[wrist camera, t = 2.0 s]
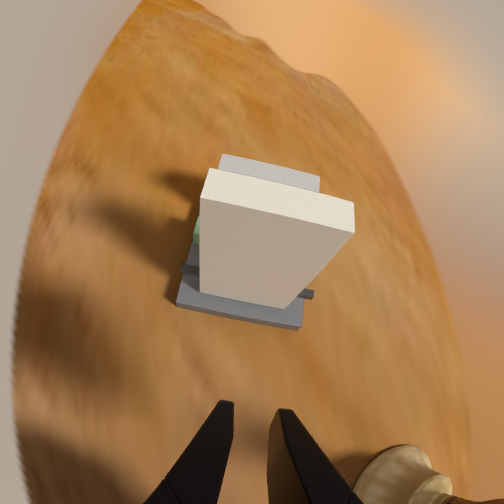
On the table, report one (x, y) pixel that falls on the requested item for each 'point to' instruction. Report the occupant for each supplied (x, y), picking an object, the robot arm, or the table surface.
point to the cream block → (266, 238)
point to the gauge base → (238, 309)
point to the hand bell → (406, 480)
